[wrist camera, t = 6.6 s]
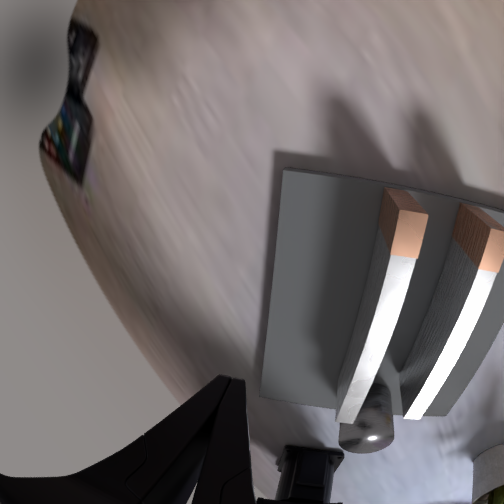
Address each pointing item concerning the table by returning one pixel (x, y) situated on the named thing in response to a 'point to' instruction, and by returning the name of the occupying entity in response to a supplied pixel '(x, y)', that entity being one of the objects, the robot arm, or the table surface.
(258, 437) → the table surface
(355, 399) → the tongs hinged arm
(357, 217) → the charcoal mat
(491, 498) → the house plant
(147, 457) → the robot arm
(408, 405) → the arm
